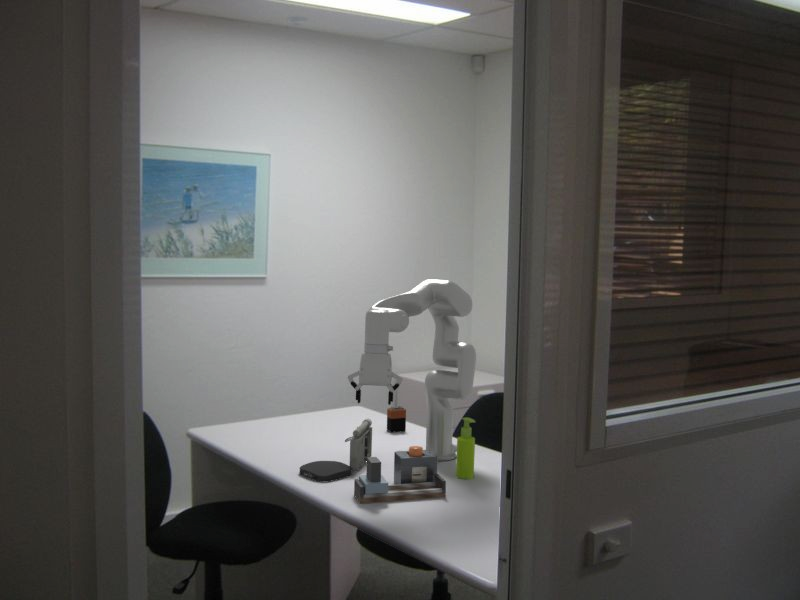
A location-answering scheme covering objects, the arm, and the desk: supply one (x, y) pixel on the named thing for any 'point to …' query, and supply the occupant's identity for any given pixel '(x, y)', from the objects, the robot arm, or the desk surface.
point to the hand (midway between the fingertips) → (374, 403)
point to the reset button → (415, 451)
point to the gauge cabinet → (414, 467)
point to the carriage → (373, 478)
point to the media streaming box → (325, 470)
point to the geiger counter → (360, 445)
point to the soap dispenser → (465, 451)
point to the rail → (403, 491)
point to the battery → (396, 419)
